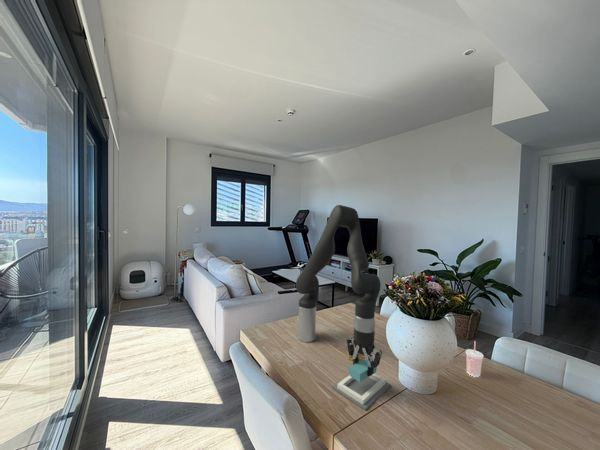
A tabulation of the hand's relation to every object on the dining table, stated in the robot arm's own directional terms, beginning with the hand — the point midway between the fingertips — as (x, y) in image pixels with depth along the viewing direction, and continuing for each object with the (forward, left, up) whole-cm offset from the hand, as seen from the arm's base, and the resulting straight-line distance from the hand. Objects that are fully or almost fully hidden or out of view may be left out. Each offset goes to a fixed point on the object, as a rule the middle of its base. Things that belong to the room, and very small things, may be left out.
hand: (362, 371), depth 93 cm
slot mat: (0, 0, -6) cm, 6 cm away
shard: (-11, +16, -7) cm, 21 cm away
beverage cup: (+27, +42, -6) cm, 50 cm away
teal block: (0, 0, -1) cm, 1 cm away
